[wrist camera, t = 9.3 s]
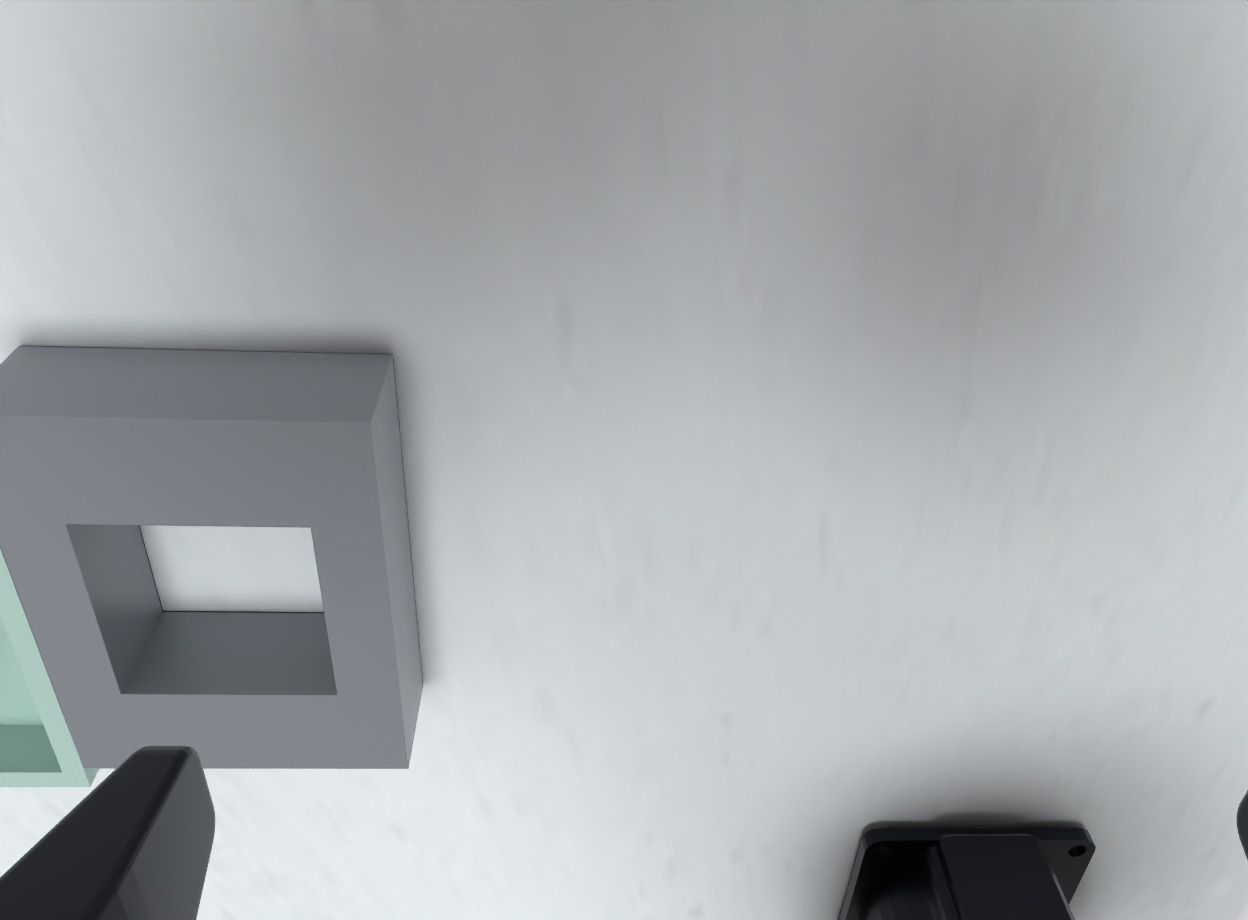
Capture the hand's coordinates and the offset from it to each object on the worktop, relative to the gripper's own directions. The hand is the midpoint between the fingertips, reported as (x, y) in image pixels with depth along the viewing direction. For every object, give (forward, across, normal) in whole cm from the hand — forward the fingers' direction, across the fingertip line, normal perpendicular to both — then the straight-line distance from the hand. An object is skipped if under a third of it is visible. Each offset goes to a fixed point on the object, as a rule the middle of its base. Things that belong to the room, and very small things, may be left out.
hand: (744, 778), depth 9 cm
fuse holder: (+12, +8, +7) cm, 16 cm away
